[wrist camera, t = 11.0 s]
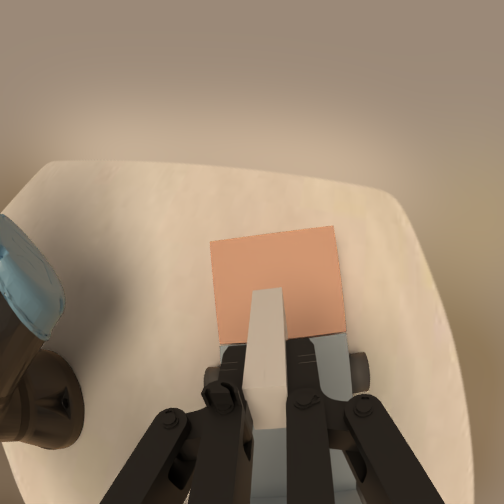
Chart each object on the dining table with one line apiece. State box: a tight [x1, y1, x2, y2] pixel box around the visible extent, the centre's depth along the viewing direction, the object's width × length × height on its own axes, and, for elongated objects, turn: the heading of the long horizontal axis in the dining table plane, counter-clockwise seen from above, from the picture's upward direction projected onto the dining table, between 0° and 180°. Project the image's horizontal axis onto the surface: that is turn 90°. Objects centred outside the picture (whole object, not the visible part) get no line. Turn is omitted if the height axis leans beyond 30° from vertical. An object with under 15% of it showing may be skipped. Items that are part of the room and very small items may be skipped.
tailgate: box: [210, 226, 346, 344], centre depth 29 cm, size 2×12×10 cm
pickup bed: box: [204, 333, 370, 504], centre depth 22 cm, size 22×16×10 cm
